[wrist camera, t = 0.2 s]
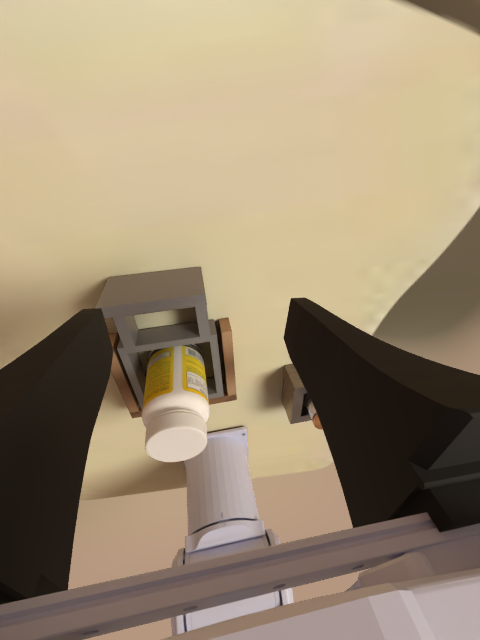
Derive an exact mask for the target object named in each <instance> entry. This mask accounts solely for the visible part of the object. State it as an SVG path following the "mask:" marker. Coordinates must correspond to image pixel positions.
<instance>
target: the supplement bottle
mask: <svg viewBox="0 0 480 640" xmlns="http://www.w3.org/2000/svg"><path fill="white" fill-rule="evenodd" d="M209 411H210V408H209V400H208V391H207V383H206V375H205V367H204V359H203V354H202V352H201V350H200V348H199V347H198V346H197V345H195V344H189V345H183V346H176V347H169V348H162V349H156V350H152V351H151V352H150V355H149V358H148V366H147V375H146V384H145V392H144V401H143V409H142V420H143V423H144V425H145V427H146V438H145V450H146V452H147V454H148V455H149V456H150V457H151V458H153V459H155V460H158V461H162V462H179V461H184V460H187V459H190V458H193V457H195V456H196V455H198V454H199V453H201V452H202V451H203V450H204V448H205V447H206V444H207V426H206V422H207V420H208V417H209Z"/></svg>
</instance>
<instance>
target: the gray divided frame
mask: <svg viewBox="0 0 480 640" xmlns="http://www.w3.org/2000/svg"><path fill="white" fill-rule="evenodd" d="M206 305H207V303H206V296H205V289H204V283H203V277H202V271H201V267H194V268H186V269H177V270H168V271H159V272H150V273H142V274H133V275H124V276H115V277H109V278H108V280H107V282H106V284H105V286H104V289H103V291H102V293H101V295H100V298H99V300H98V302H97V304H96V306H95V309H98V308H101V309H102V312H103V316H104V319H107V318H113V321H114V323H115V326H116V328H117V331H118V334H119V336H120V340H119V343H118V347H117V350H118V353H119V355H120V358H121V360H122V363H123V365H124V367H125V370H126V372H127V375H128V377H129V380H130V382H131V385H132V387H133V390H134V392H135V395H136V397H137V399H138V402H139V404H140V407H141V409H143V401H144V392H145V384H146V377H145V375H144V372H143V369H142V366H141V363H140V360H139V358H138V355H137V352H142V351H149V350H156V349H162V348H169V347H176V346H183V345H189V344H196V343H203V342H210V347H211V355H212V362H213V369H214V376H215V377H212V378H206V383H207V391H208V399H212V398H218V397H223V396H224V393H223V384H222V375H221V367H220V358H219V349H218V340H217V333H216V327H215V322H214V320H208V314H207V306H206ZM191 307H195V310H196V316H197V322H193V323H185V324H178V325H171V326H164V327H157V328H149V329H142V330H138V328H137V325H136V322H135V318H134V315H137V314H145V313H153V312H160V311H168V310H175V309H183V308H191Z"/></svg>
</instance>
